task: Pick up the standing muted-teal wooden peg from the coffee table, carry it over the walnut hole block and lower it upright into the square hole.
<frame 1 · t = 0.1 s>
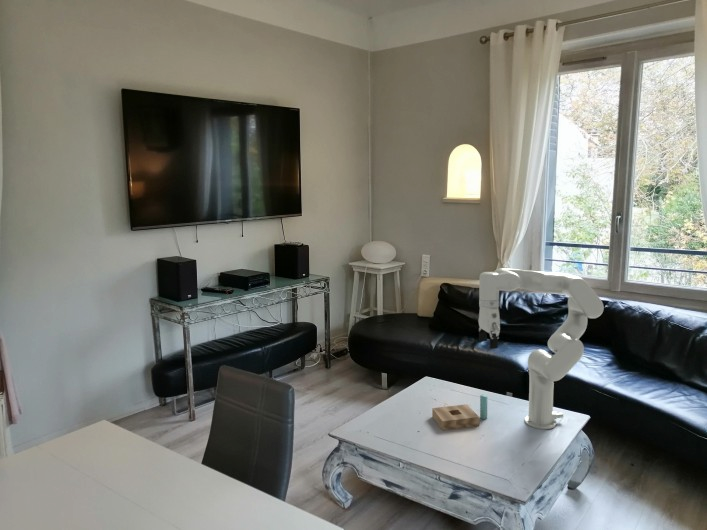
hand: (488, 344, 217), 36 cm above the table, tool pointing down, fingers open, 9 cm apart
hole block: (455, 421, 231), on the table
peg: (483, 417, 233), on the table
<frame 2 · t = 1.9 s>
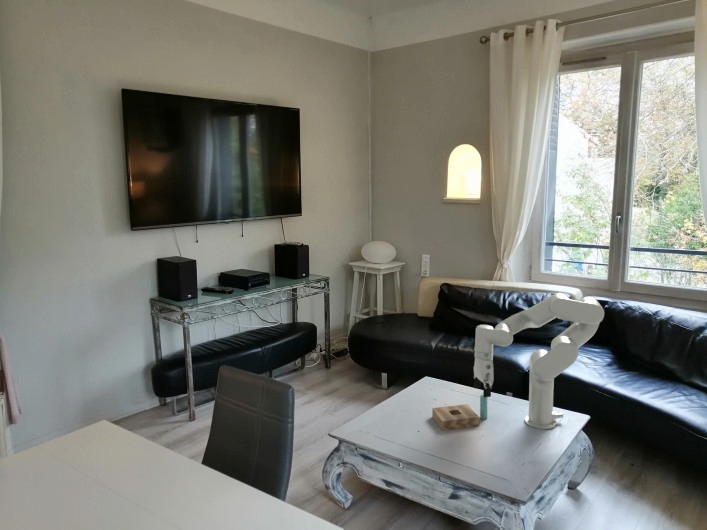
hand: (482, 392, 232), 12 cm above the table, tool pointing down, fingers open, 9 cm apart
nothing on the table moved.
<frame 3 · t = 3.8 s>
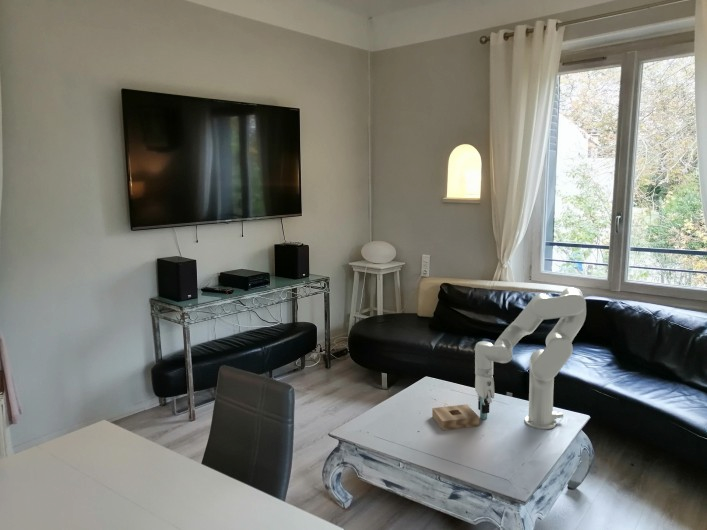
hand: (483, 410, 233), 3 cm above the table, tool pointing down, fingers closed on peg, 3 cm apart
peg: (483, 417, 233), on the table, touching gripper
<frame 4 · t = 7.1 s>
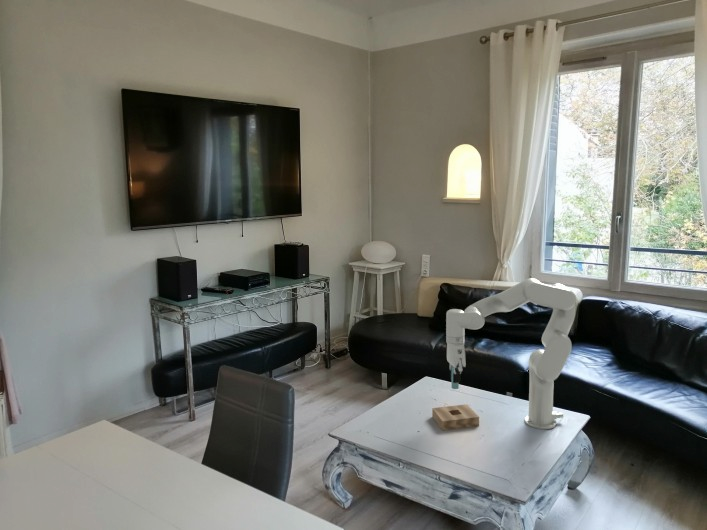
hand: (455, 380, 228), 18 cm above the table, tool pointing down, fingers closed on peg, 3 cm apart
peg: (455, 387, 228), point 15 cm above the table, touching gripper
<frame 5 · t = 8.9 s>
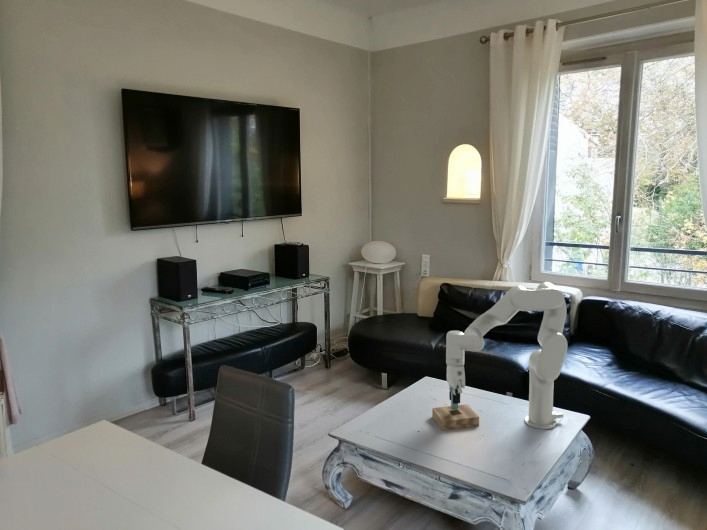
hand: (454, 401, 229), 9 cm above the table, tool pointing down, fingers closed on peg, 3 cm apart
peg: (454, 408, 230), point 6 cm above the table, touching gripper
when the fingers open (5 cm above the table, at t = 10.6 s): peg drops 2 cm, resting in hole block.
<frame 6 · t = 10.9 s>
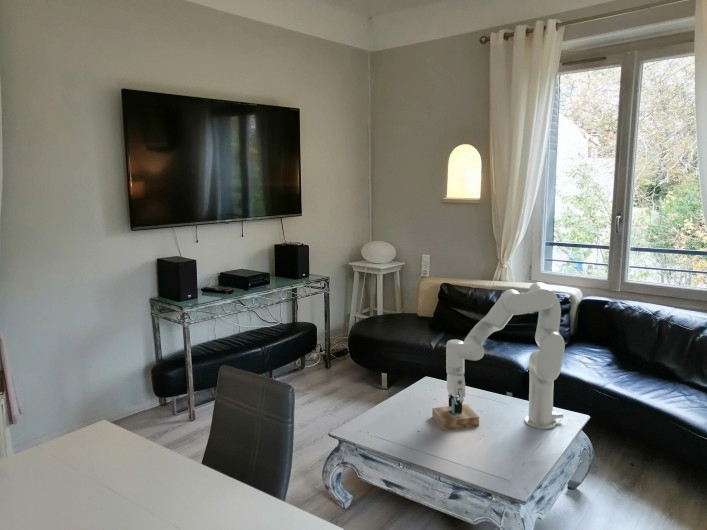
hand: (455, 409, 230), 6 cm above the table, tool pointing down, fingers open, 6 cm apart
peg: (455, 421, 231), resting in hole block
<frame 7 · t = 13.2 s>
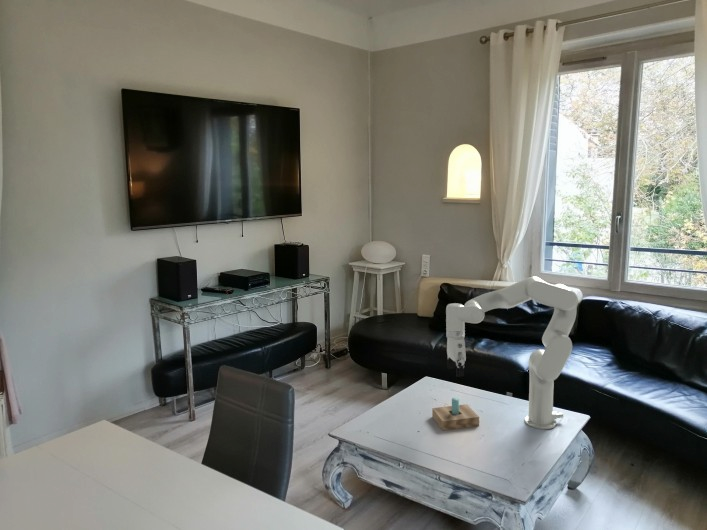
hand: (455, 372, 227), 22 cm above the table, tool pointing down, fingers open, 9 cm apart
nothing on the table moved.
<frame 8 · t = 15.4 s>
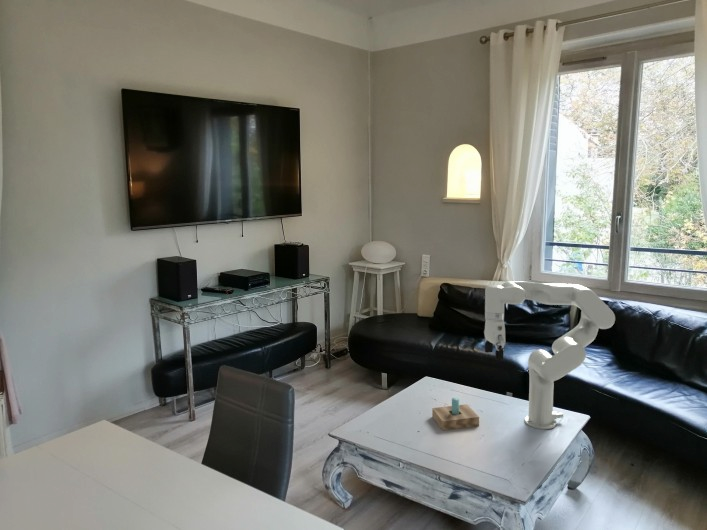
hand: (493, 355, 222), 30 cm above the table, tool pointing down, fingers open, 9 cm apart
nothing on the table moved.
at the end: peg 0.1 cm off-centre on the hole block, point 0.0 cm above the hole block's base; peg tilted 0°; the gripper is holding nothing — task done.
